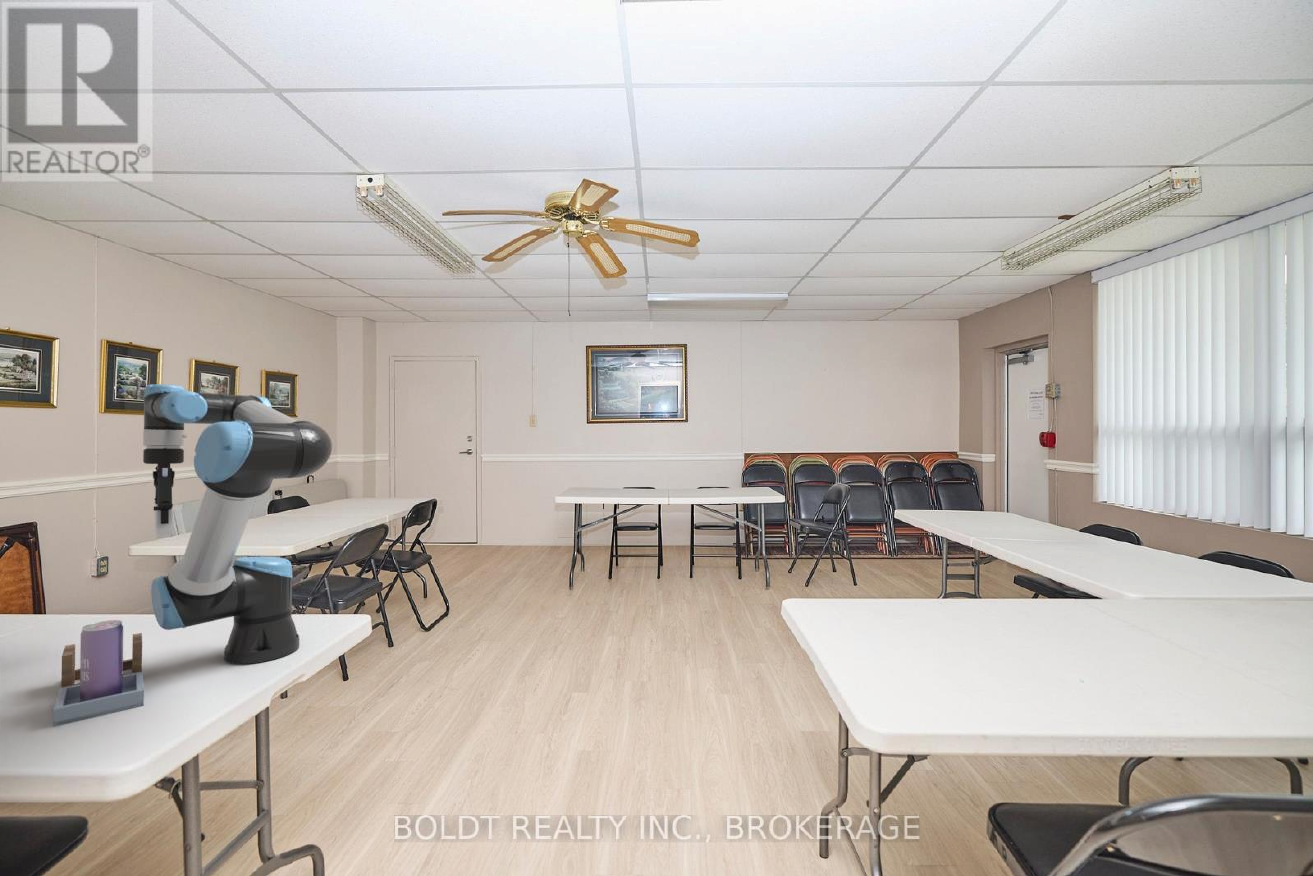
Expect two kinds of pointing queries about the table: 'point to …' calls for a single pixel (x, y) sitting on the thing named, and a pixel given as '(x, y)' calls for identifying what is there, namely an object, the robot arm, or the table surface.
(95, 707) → the tray
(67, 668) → the bracket
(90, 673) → the beverage can
